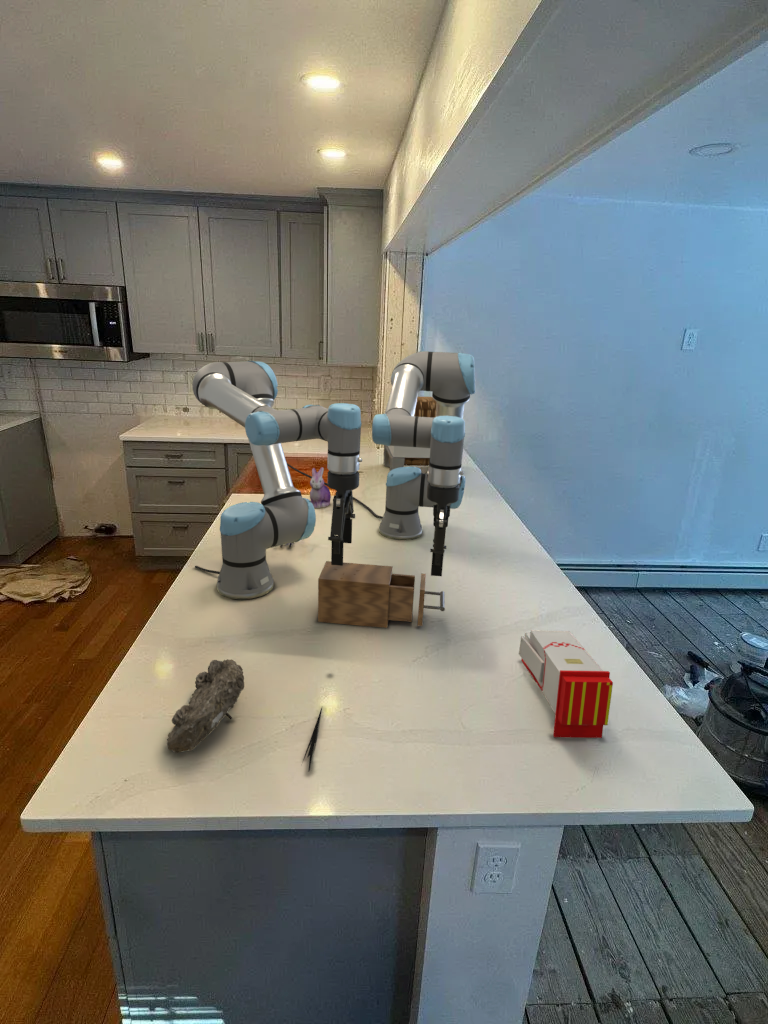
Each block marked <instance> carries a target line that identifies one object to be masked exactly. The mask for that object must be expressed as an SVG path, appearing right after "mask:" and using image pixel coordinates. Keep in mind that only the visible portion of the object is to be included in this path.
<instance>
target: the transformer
mask: <svg viewBox="0 0 768 1024" xmlns="http://www.w3.org/2000/svg"><path fill="white" fill-rule="evenodd" d="M436 404H437V402H436V401H435V400H434V399H433V397H432V396H419V395H418V396H417V402H416V408H415V413H414V416H418V417H433V418H435V417H436ZM463 420H464V421H465V419H464V418H463ZM465 422H466V421H465ZM429 461H430V448H418V447H404V446H386V445H383V466H384V467H388V468H389V472H390V471H391V470H393V469H396V468H399V467H405V466H406V467H417V466H418V467H429Z"/></svg>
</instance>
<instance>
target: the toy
mask: <svg viewBox="0 0 768 1024" xmlns="http://www.w3.org/2000/svg"><path fill="white" fill-rule="evenodd" d="M519 641H520V642H519V650H518V655H519V657H520V658H521V660H520V661H521V662H522V664H523V666H524V667H525V669H526V670H527V671H528V673H529V674H530V676H531V677H532V679H533V680H534V682H535V684H536V685H537V686H538V687H539V689H540V690H541V692H542V694H543V696H544V697H545V699H546V701H547V702H548V705H549V706H550V708H551V709H552V711H553V713H554V723H553V732H552V733H553V734H552V736H553V738H570V739H571V738H572V739H575V738H577V739H578V738H579V739H581V738H583V739H584V738H587V739H602V737H603V732H604V726H608V725H609V716H610V710H611V702H612V693H613V685H614V682H613V681H612V679H611V677H610V675H611V672H610V671H609V670H603V668H601V666H600V665H599V664H598V663H597V661H595V659H594V658H593V657H592V656H591V654H589V652H588V651H587V650H586V648H585V647H584V646H583V645H582V644H581V643H580V642H579V640H578V639H577V638H576V637H575V635H574V634H573V633H572V632H571V631H570V630H538V629H537V630H536V629H535V630H534V629H530V631H525V632H524V636H520V640H519Z"/></svg>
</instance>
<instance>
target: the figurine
mask: <svg viewBox="0 0 768 1024" xmlns="http://www.w3.org/2000/svg"><path fill="white" fill-rule="evenodd" d="M324 471H325V469H324V467H322V466H321V467H320V469H319V470H318V471H317V470H316V468H315V467H313V468H312V469H311V476H312V479H311V478H310V481H309V486H310V487H311V489H310V492H309V500H310V502H311V503H312V504H313V506H314V509H320V508H326V507H328V506H330V504H331V498H332V495H331V491H330V488H329V487H328V486H327V485H324V482H325V479H324V478H323V475H324Z"/></svg>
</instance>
